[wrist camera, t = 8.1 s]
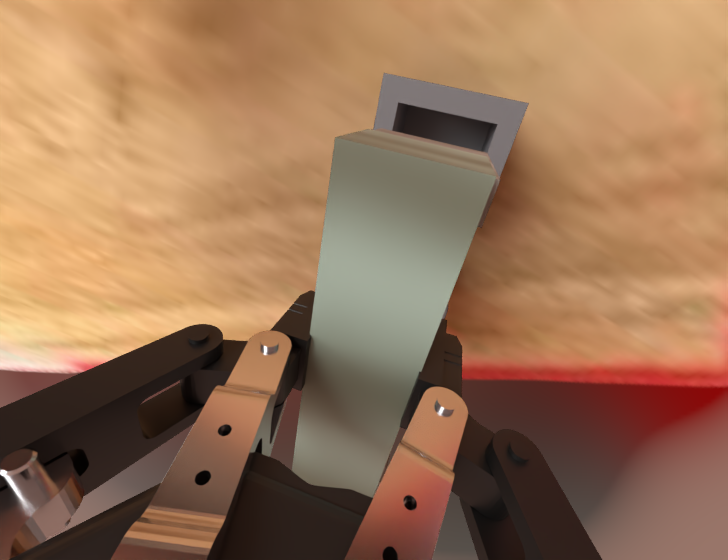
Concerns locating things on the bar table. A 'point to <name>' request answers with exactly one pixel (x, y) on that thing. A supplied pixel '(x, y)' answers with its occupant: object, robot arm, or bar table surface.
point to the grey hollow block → (450, 117)
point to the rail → (382, 293)
